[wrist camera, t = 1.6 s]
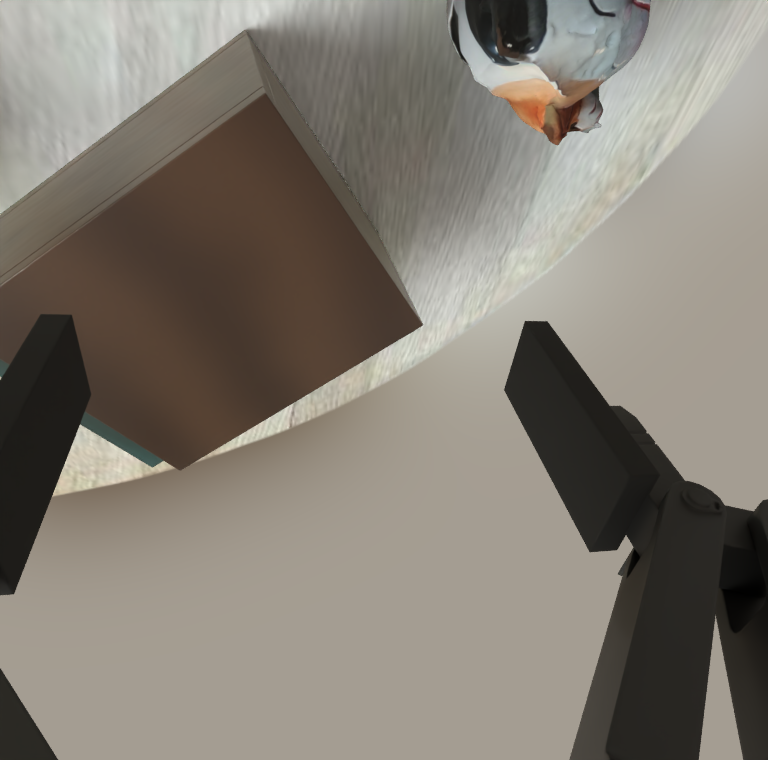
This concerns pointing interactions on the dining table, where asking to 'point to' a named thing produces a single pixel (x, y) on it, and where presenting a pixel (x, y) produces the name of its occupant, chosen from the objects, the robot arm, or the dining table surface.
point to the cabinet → (203, 262)
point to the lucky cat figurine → (548, 54)
